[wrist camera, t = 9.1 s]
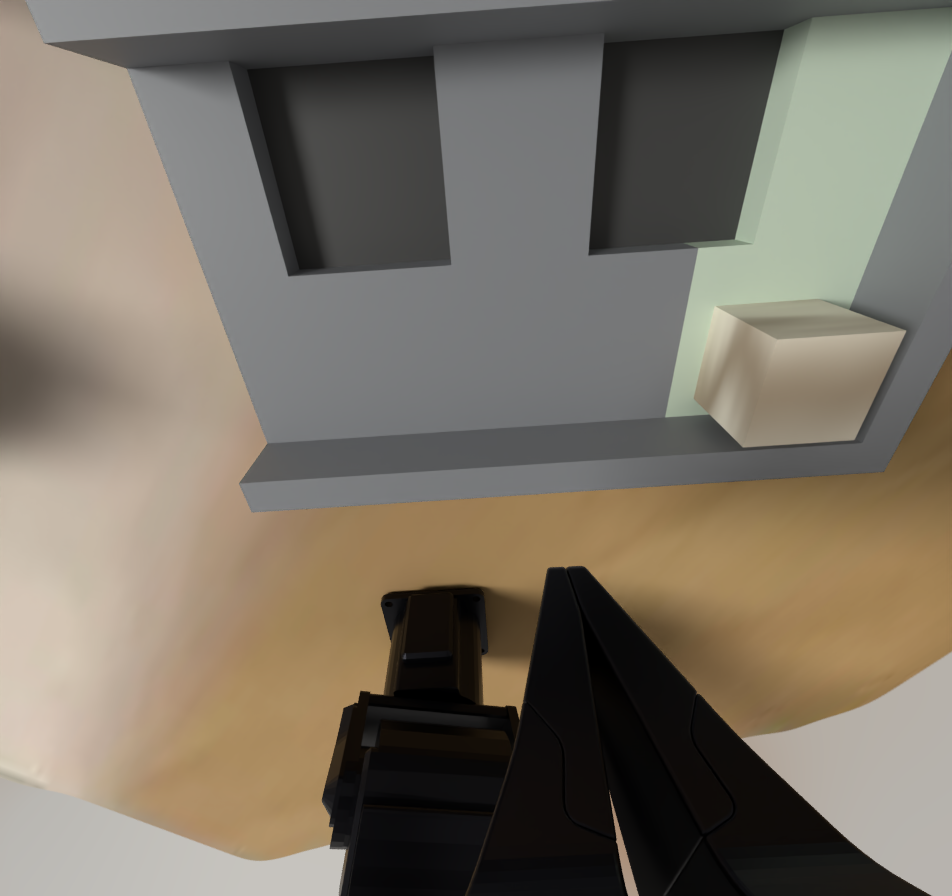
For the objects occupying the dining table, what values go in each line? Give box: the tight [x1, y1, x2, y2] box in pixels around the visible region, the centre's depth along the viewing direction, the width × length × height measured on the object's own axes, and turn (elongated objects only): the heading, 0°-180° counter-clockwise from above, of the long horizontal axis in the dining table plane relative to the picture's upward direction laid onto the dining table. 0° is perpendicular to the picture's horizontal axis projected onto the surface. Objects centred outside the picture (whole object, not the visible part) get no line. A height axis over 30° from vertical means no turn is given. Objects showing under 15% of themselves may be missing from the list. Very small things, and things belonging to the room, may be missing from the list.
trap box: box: [25, 0, 952, 512], centre depth 16 cm, size 16×26×4 cm, turn 93°
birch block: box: [694, 299, 906, 447], centre depth 16 cm, size 4×4×4 cm
